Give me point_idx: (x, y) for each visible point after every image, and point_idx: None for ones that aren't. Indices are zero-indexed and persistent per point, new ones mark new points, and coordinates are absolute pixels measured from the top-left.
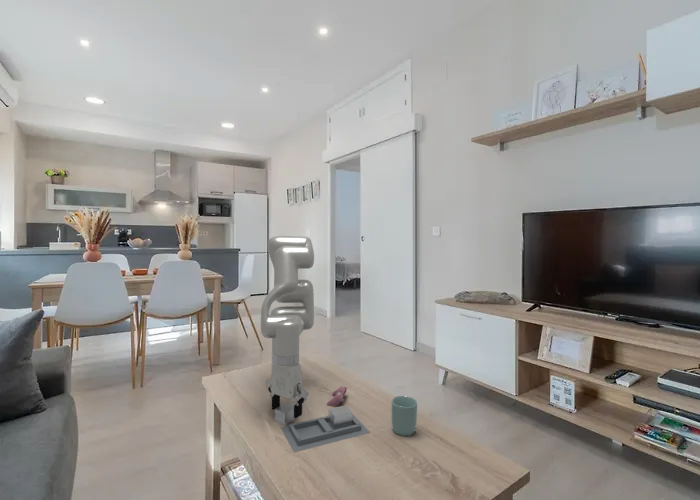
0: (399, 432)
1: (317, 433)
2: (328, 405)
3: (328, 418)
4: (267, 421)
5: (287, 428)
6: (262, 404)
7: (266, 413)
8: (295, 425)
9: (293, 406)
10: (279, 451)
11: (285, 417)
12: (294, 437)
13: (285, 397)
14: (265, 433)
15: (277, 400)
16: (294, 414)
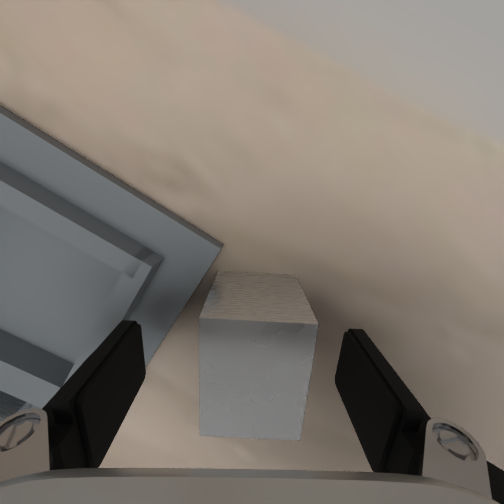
0: None
1: (12, 305)
2: None
3: None
4: (347, 273)
5: (177, 260)
6: (479, 379)
7: (404, 328)
8: (117, 283)
9: (218, 414)
10: (64, 70)
11: (206, 303)
12: (48, 194)
13: (110, 479)
14: (273, 174)
15: (364, 413)
16: (115, 336)
